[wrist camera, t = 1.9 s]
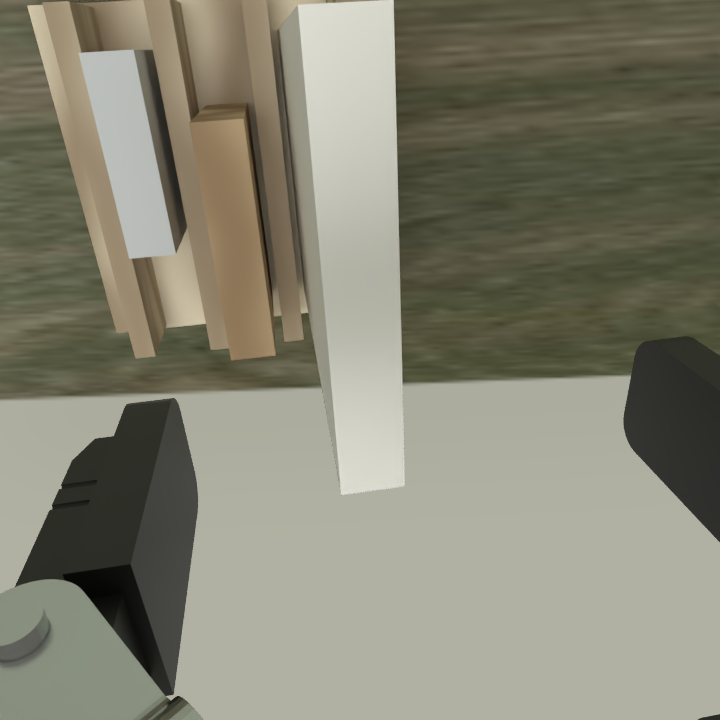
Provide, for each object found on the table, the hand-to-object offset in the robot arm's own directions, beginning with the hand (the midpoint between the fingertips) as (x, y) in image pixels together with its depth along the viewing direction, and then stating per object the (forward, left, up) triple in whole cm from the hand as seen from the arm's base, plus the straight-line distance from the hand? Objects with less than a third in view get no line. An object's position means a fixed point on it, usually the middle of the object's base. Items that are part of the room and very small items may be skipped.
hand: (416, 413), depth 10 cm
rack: (+3, -2, -25) cm, 25 cm away
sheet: (0, 0, -24) cm, 24 cm away
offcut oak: (+4, -1, -24) cm, 24 cm away
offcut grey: (+6, -6, -24) cm, 25 cm away
